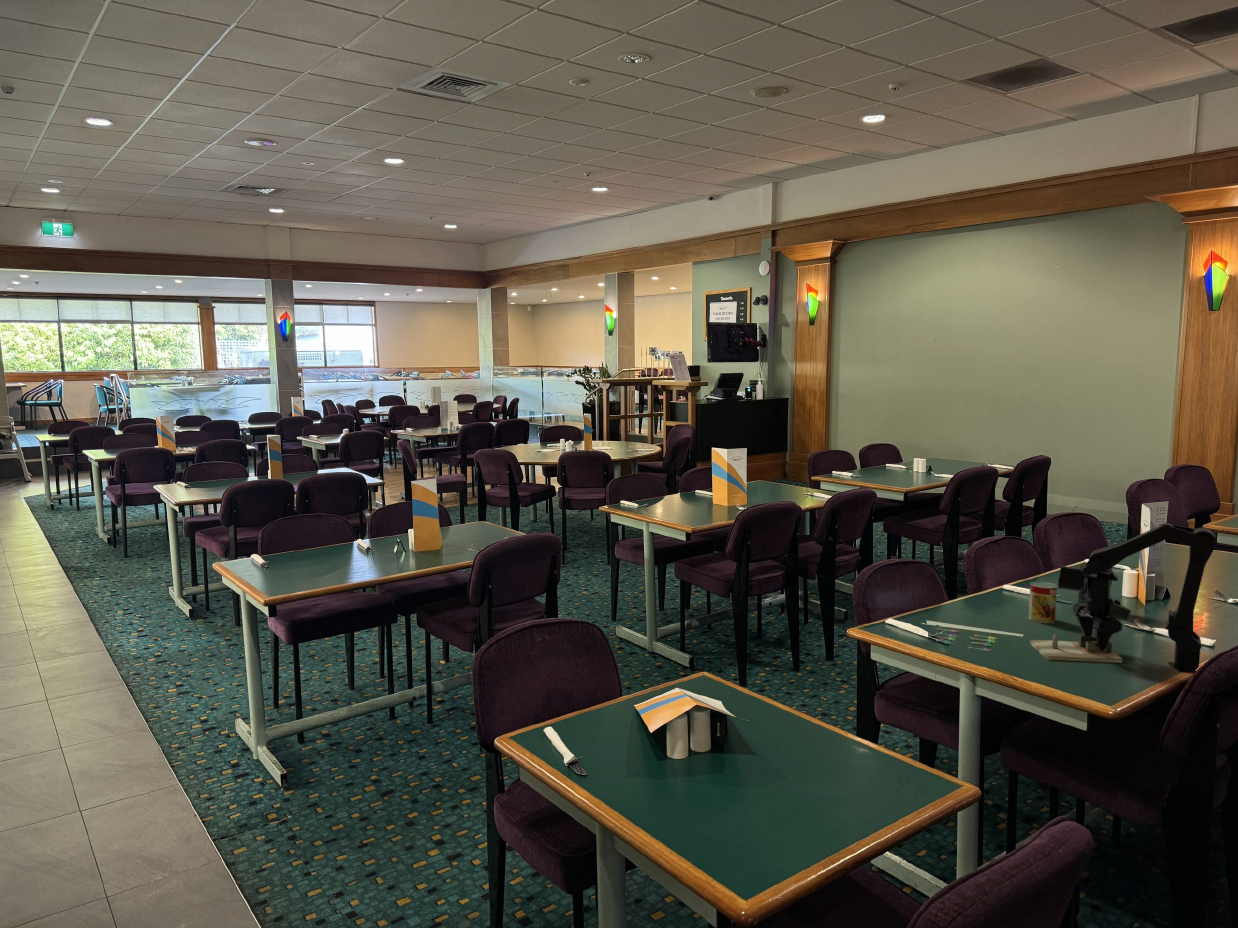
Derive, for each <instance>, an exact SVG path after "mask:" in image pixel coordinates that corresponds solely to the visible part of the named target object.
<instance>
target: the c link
mask: <svg viewBox="0 0 1238 928" xmlns="http://www.w3.org/2000/svg"><path fill="white" fill-rule="evenodd" d="M1077 642H1078V645H1079V646H1080V647H1086V649H1085V651H1086V652H1089V653H1111V650H1112V648H1113V647H1112V646H1113V643H1112V642H1111V641H1110V640H1109V641H1108V644H1107V646H1106V648H1105V650H1104V651H1101V650H1100V649H1099V646H1098V643H1097V639H1096V636H1095V635H1092V636H1084V634H1083V635H1078V641H1077Z"/></svg>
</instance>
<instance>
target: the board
mask: <svg viewBox="0 0 1238 928" xmlns="http://www.w3.org/2000/svg"><path fill="white" fill-rule="evenodd" d="M1029 644H1030V645H1031V646H1032V647H1033V648H1034V649H1035V650H1036V651H1037V652H1038V653H1040V654H1041V656H1043V657H1044V658H1045V659H1046V660H1047V661H1048V660H1049V661H1069V662H1070V661H1073V662H1074V661H1075V662H1095V663H1116V664H1117V663H1120V664H1122V663H1123V658H1122V657H1121V656H1119V654H1118V653H1116V652H1115V651H1114V650H1112V649H1111V653H1089V652H1086V651H1085V649H1086V647H1080V646H1079V645H1078V641H1077V640H1076V641H1075V640H1073V641H1072V640H1070V641H1069V640H1059V635H1057V634H1053V635H1052V640H1051V639H1050V640H1047V639H1030V640H1029Z"/></svg>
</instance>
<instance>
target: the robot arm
mask: <svg viewBox="0 0 1238 928" xmlns="http://www.w3.org/2000/svg"><path fill="white" fill-rule="evenodd" d="M1166 540H1170V541H1173V542H1176V543H1179V544H1182V545H1186V546H1188V547H1189V549H1188V550H1189V551H1188V554H1189V556H1188V557H1189V558H1188V563H1187V567H1186V572H1185V574H1184V579H1183V583H1182V587H1181V592H1180V595H1179V599H1178V604H1177V606H1176V608H1175V609H1174V611H1173V610H1170V609H1168V611H1167V612H1168V613H1167V620H1166V621H1165V623H1164V624H1165V625H1164V626H1165V630H1167V634H1168V638H1170V640H1172V641H1173V642H1174V643H1175V645H1174V653H1173V654H1174V656H1173V661H1167V664H1168V665H1169V666H1171V667H1173V668H1174V669H1176V670H1177V671H1178V672H1183V673H1195V672H1194V671H1195V670H1196V669H1197V668H1198V667H1200V657H1201V649H1202V648H1203V647H1202V645H1203V644H1202V641H1201V636H1200V635H1198V633H1196V632H1195V631H1194V612H1195V608H1196V607H1195V606H1196V603H1197V599H1198V596H1199V592H1200V587H1201V583H1202V580H1203V576H1204V571H1205V568H1206V564H1207V563H1208V562H1209V560H1210V557H1211V556H1212V554H1213V552H1214V550H1215V549H1216V546H1217V538H1216V536H1215V534H1214V532H1213V531H1212V530H1211V529H1209V528H1207V527H1198V528H1192V527H1190V526H1189V527H1188V526H1182V525H1175V524H1172V523H1169V522H1163V523H1161V524H1159V525H1158V526H1156V527H1154V528H1153V527H1152V529H1150V530H1147V531H1145V532H1143V533H1140V534H1138V535H1137V536H1136V535H1135V536H1134V537H1132V538H1130V539H1128V540H1125V541H1123V542H1121V543H1119V544H1115V545H1110V546H1106V547H1105V546H1104V547H1101V548H1098V549H1095V550H1093V551H1092V552H1091V553H1090V554H1089V555H1090V556H1089V558H1088V560H1087V562H1086V563H1085V564H1082V565H1083V567H1082V569H1081V568H1078V567H1072V566H1071V567H1069V566H1067V565H1061V566H1060V570H1059V571H1060V572H1059V577H1058V584H1057V589H1059V590H1060V589H1061V590H1068V591H1076V592H1079V591H1080V589H1082V588H1085V577H1086V578H1088V584H1087V594H1084V598H1086V599H1087V600H1086V603H1078V602H1076V603H1074V604H1073V606H1072V613H1074V616H1075V618H1076V620H1077V622H1078V624H1079V627H1080V628H1081V630H1082V634H1083V636H1093V632H1094V636H1096V639H1097V643H1098V646H1099V649H1100V650H1101V651H1104V650H1105V648H1106V646H1107V644H1108V641H1109V642H1110V639H1111V637H1112V636H1113V635H1114V634H1116V633H1119V632H1122V631H1123V623H1122V622H1121V621H1120V620H1118V619H1117V618H1115V617H1118V618H1121V619H1122V620H1124V621H1128V619H1129V617H1130V614H1131V613H1132V610H1131V609H1130V608H1128V607H1126V606H1124V605H1122V604H1121V601H1120V600H1118V599H1116V598H1112V597H1111V598H1109V597H1110V596H1111V589H1110V582H1111V580H1112V582H1117V581H1118V580H1119V576H1118V575H1117V574H1116V573H1115V572H1114V571H1113V570H1112V571H1111V572H1109V573H1102V572H1106V571H1108V570H1109V569H1111V568H1112V569H1113V568H1114V567H1115V566H1116V565H1118V564H1119V563H1120V562H1122V561H1123V560H1125V559H1126V558H1128V557H1129V556H1132V555H1135V554H1136V553H1138V552H1141V551H1143V550H1146V549H1147V548H1150V547H1152V546H1155V545H1157V544H1159V543H1162V542H1163V541H1166ZM1095 572H1097V574H1093V573H1095ZM1114 616H1115V617H1114Z"/></svg>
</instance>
